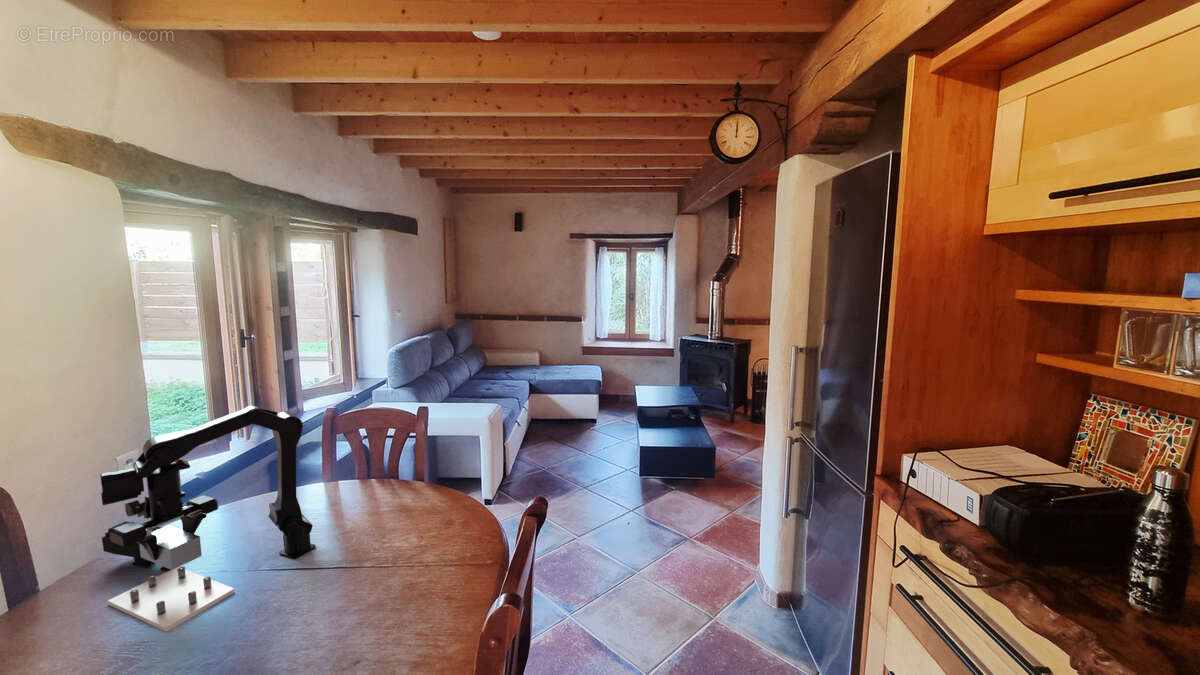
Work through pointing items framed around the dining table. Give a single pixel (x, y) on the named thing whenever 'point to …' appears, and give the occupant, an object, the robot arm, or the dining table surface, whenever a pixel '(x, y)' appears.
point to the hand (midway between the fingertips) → (171, 552)
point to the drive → (174, 547)
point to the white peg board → (171, 598)
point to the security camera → (128, 549)
